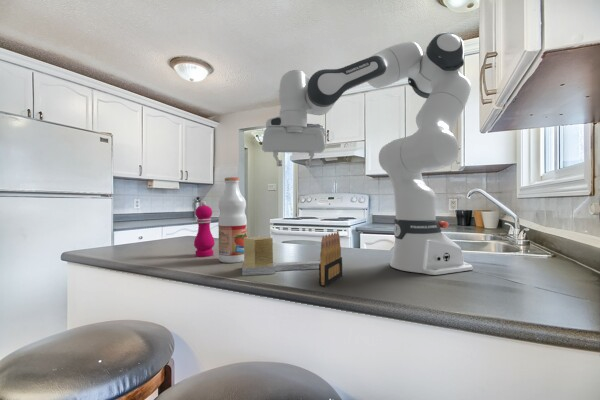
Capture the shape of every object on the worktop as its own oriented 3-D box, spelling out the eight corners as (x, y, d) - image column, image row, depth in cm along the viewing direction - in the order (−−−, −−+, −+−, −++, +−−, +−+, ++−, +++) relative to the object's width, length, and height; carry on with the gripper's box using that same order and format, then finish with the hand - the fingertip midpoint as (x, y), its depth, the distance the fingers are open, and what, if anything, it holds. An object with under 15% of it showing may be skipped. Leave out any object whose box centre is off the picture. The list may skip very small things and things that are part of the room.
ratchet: (328, 263, 94) (327, 242, 94) (336, 270, 85) (336, 247, 85) (243, 267, 90) (242, 246, 90) (242, 275, 81) (241, 251, 81)
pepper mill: (197, 258, 105) (196, 201, 104) (191, 255, 110) (190, 201, 110) (217, 255, 109) (216, 201, 109) (210, 252, 115) (209, 201, 114)
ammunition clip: (325, 286, 70) (325, 236, 70) (318, 285, 71) (318, 235, 71) (342, 275, 79) (342, 231, 79) (336, 275, 80) (335, 231, 80)
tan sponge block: (261, 260, 90) (261, 235, 90) (272, 263, 86) (272, 237, 86) (244, 263, 87) (243, 237, 86) (254, 267, 82) (254, 240, 82)
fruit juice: (224, 257, 106) (222, 178, 105) (250, 257, 105) (249, 178, 105) (214, 263, 96) (213, 177, 96) (243, 263, 96) (242, 176, 95)
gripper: (322, 126, 100) (322, 167, 100) (261, 124, 97) (262, 167, 97) (327, 121, 94) (327, 165, 94) (262, 119, 91) (262, 165, 91)
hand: (293, 166), depth 96 cm, fingers open, 8 cm apart
